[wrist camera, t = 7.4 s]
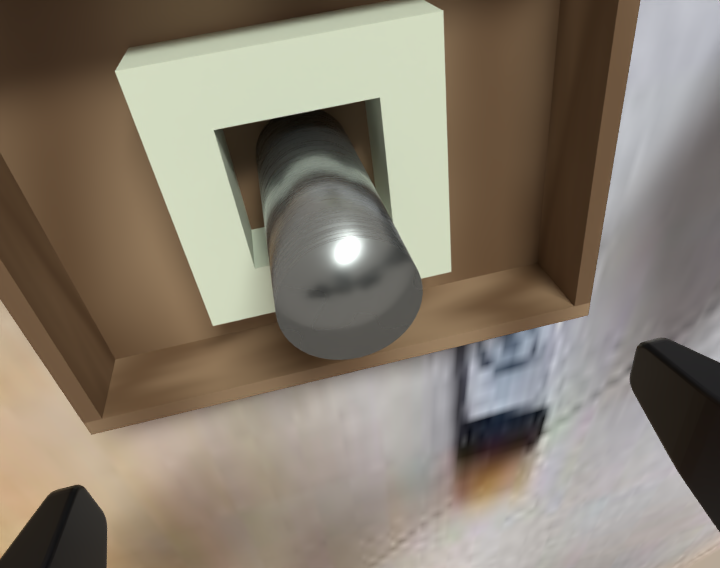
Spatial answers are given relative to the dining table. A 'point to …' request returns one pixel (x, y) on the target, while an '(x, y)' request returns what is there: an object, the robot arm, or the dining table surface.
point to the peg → (331, 242)
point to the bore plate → (287, 97)
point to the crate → (160, 239)
